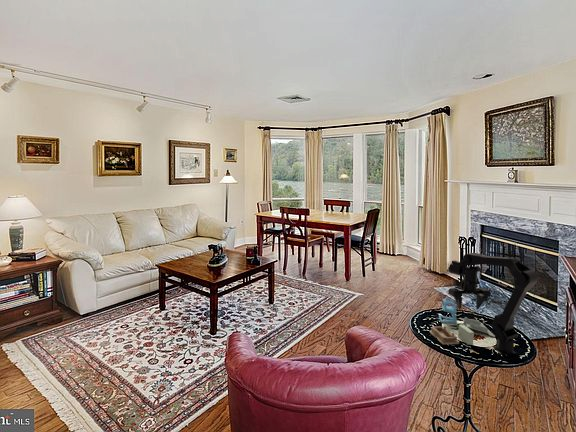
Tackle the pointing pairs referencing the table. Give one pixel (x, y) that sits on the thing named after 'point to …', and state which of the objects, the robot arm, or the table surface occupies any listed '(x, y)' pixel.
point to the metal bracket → (476, 325)
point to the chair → (449, 309)
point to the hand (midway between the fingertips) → (468, 309)
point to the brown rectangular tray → (444, 335)
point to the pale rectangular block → (466, 334)
